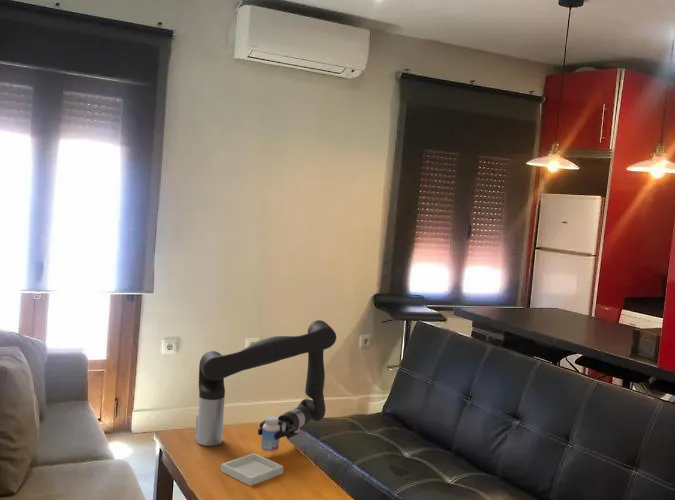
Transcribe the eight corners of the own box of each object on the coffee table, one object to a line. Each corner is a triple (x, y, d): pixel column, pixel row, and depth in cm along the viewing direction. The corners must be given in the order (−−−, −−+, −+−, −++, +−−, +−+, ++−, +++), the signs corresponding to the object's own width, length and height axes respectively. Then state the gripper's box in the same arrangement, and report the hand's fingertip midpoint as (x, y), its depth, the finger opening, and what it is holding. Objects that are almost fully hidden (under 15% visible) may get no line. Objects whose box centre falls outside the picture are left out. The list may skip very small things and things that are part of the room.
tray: (221, 471, 232) (221, 463, 232) (253, 459, 243) (254, 453, 243) (250, 485, 222) (250, 478, 222) (283, 473, 233) (283, 466, 233)
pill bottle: (275, 453, 243) (277, 422, 242) (258, 450, 244) (261, 419, 243) (280, 447, 249) (282, 417, 248) (264, 444, 250) (266, 414, 249)
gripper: (275, 407, 262) (250, 419, 247) (308, 415, 256) (285, 429, 241) (273, 426, 263) (249, 440, 247) (307, 435, 256) (284, 449, 241)
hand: (267, 434), depth 244 cm, fingers closed on pill bottle, 6 cm apart
